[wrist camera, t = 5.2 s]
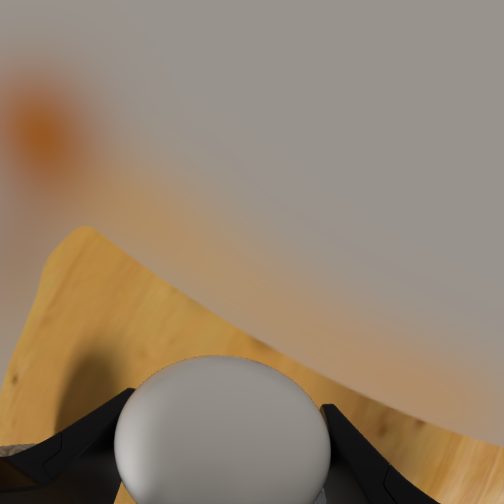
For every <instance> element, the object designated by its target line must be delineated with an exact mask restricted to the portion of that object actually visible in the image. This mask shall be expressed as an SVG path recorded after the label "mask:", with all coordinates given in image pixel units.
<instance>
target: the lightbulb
mask: <svg viewBox="0 0 504 504" xmlns="http://www.w3.org/2000/svg"><path fill="white" fill-rule="evenodd" d="M114 453H115V460H116V465H117V469H118V472H119V475H120V477H121V480H122V482H123V484H124V486H125V488H126V490H127V491H128V493H129V494H130V496H131V497H132V499H133V500H134V501H135V502H136V504H314V502H315V501H316V500H317V498H318V496H319V495H320V493H321V491H322V489H323V487H324V485H325V482H326V479H327V476H328V472H329V468H330V461H331V444H330V437H329V433H328V429H327V426H326V423H325V421H324V418H323V416H322V414H321V412H320V410H319V409H318V407H317V405H316V404H315V403H314V401H313V400H312V399H311V397H310V396H309V395H308V394H307V393H306V392H305V391H304V390H303V389H302V388H301V387H300V386H299V385H298V384H297V383H296V382H294V381H293V380H292V379H291V378H289V377H288V376H286V375H285V374H283V373H282V372H280V371H278V370H276V369H274V368H272V367H270V366H268V365H266V364H263V363H261V362H258V361H255V360H251V359H247V358H243V357H237V356H229V355H205V356H198V357H192V358H188V359H184V360H181V361H178V362H175V363H173V364H170V365H168V366H166V367H164V368H162V369H161V370H159V371H157V372H156V373H154V374H153V375H151V376H150V377H149V378H147V379H146V380H145V381H144V382H143V383H142V384H141V385H139V387H138V388H137V389H136V390H135V391H134V392H133V393H132V395H131V396H130V397H129V399H128V400H127V402H126V404H125V405H124V407H123V409H122V411H121V413H120V416H119V419H118V422H117V426H116V430H115V437H114Z"/></svg>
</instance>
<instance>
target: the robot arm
mask: <svg viewBox="0 0 504 504" xmlns="http://www.w3.org/2000/svg"><path fill="white" fill-rule="evenodd" d="M135 390H136V389H134V388H127V389H126V390H124V391H123V392H121V393H120V394H118V395H117V396H115V397H114V398H112V399H111V400H109V401H108V402H106V403H105V404H103V405H102V406H100V407H98V408H97V409H95V410H94V411H92V412H91V413H89V414H88V415H86V416H84V417H83V418H81V419H80V420H78V421H77V422H75V423H73V424H72V425H70V426H69V427H67V428H65V429H64V430H62V432H59V433H57V434H55V435H54V436H52V437H50V438H48V439H47V440H45V441H43V442H41V443H39V444H37V445H35V446H32V447H30V448H28V449H25V450H23V451H20V452H18V453H16V454H13V455H10V456H3V457H1V456H0V504H114V501H115V498H116V495H117V493H118V490H119V487H120V484H121V481H122V480H121V477H120V475H119V472H118V469H117V465H116V460H115V453H114V437H115V430H116V426H117V422H118V419H119V416H120V413H121V411H122V409H123V407H124V405H125V404H126V402H127V400H128V399H129V397H130V396H131V395H132V393H133V392H134V391H135ZM320 412H321V414H322V416H323V418H324V421H325V423H326V426H327V429H328V433H329V437H330V444H331V461H330V468H329V472H328V476H327V479H326V482H325V485H324V493H325V498H326V504H440V503H438V502H437V501H435V500H434V499H432V498H431V497H430V496H428V495H427V494H425V493H424V492H422V491H421V490H420V489H418V488H417V487H416V486H414V485H413V484H412V483H410V482H409V481H408V480H407V479H406V478H404V477H403V476H402V475H401V474H400V473H399V472H398V471H397V470H396V469H395V468H394V467H393V466H392V465H390V463H389V462H388V461H387V460H386V459H385V458H384V457H383V456H382V455H381V454H380V453H379V452H378V451H377V450H376V449H375V448H374V447H373V446H372V445H371V444H370V443H369V442H368V440H367V439H366V438H365V437H364V436H363V435H362V434H361V433H360V432H359V431H358V430H357V429H356V428H355V427H354V426H353V425H352V423H351V422H350V421H349V420H348V419H347V418H346V417H345V416H344V415H343V414H342V413H341V412H340V410H339V409H338V408H337V407H336V406H335V405H334V404H323V405H322V406H321V408H320Z"/></svg>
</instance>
